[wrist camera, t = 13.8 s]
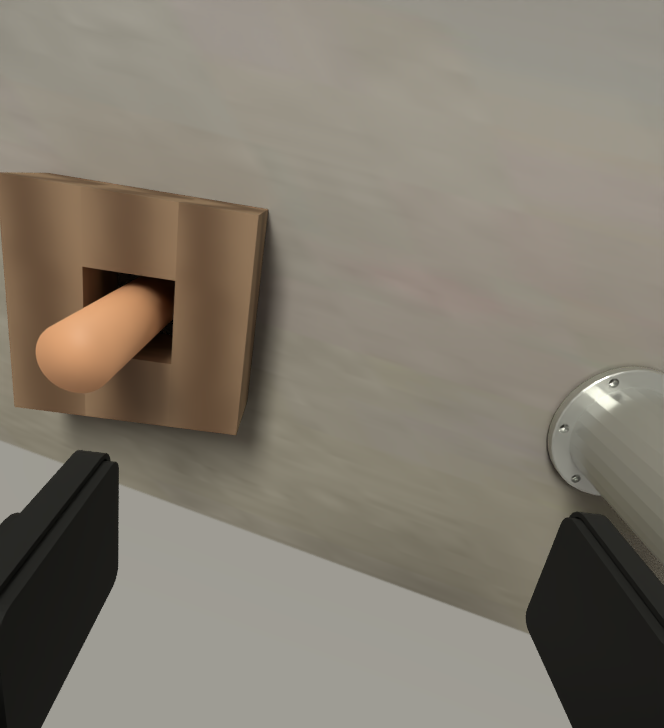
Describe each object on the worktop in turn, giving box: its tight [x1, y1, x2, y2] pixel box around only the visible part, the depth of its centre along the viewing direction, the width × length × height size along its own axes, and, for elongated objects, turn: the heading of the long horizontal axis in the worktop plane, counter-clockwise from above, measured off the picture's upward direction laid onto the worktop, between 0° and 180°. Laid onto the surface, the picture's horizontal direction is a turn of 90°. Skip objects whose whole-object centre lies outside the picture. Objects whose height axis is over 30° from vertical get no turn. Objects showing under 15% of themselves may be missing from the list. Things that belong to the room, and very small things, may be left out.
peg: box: [36, 276, 175, 393], centre depth 32 cm, size 4×4×14 cm
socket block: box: [0, 173, 268, 435], centre depth 36 cm, size 16×16×6 cm
